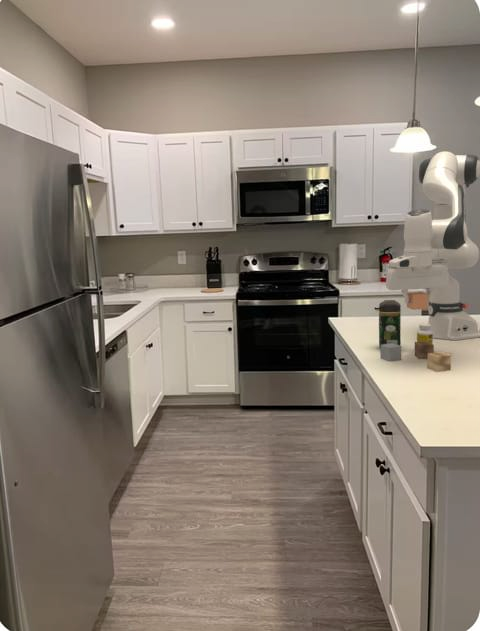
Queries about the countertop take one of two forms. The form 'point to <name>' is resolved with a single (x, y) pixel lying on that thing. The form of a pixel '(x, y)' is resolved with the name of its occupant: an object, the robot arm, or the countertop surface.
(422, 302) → the terracotta cube
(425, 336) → the supplement bottle
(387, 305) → the coffee jar
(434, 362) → the oak cube
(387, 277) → the robot arm
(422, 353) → the walnut cube
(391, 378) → the countertop surface
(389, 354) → the grey cube
